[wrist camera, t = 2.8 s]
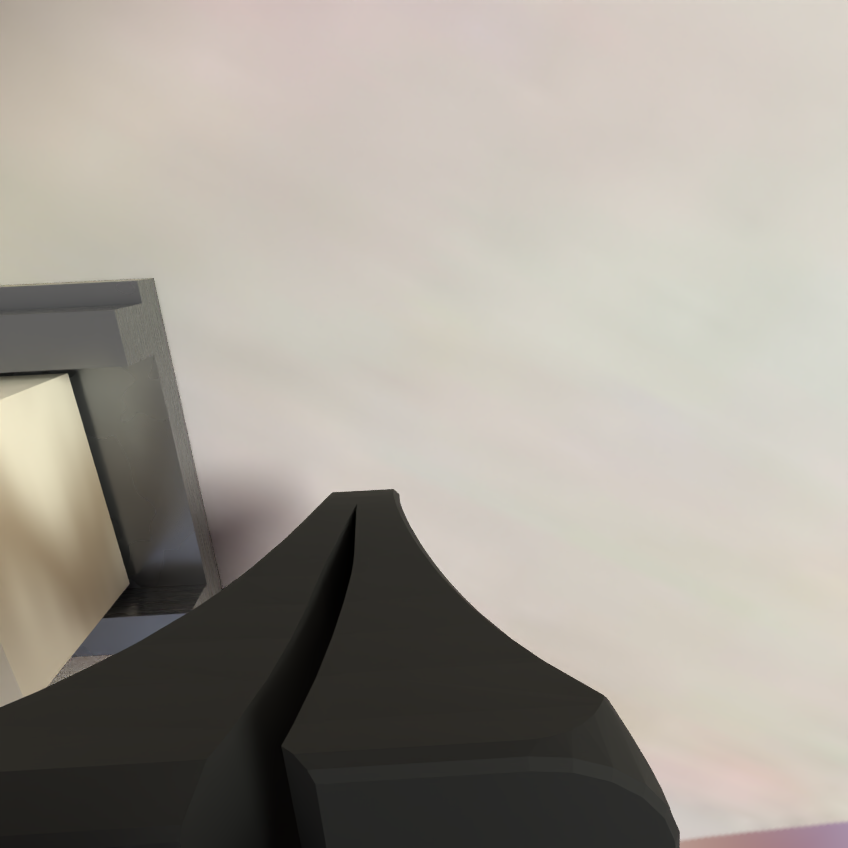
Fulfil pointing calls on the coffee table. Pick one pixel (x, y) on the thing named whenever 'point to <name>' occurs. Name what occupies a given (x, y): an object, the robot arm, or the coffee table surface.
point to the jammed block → (49, 534)
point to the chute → (123, 439)
